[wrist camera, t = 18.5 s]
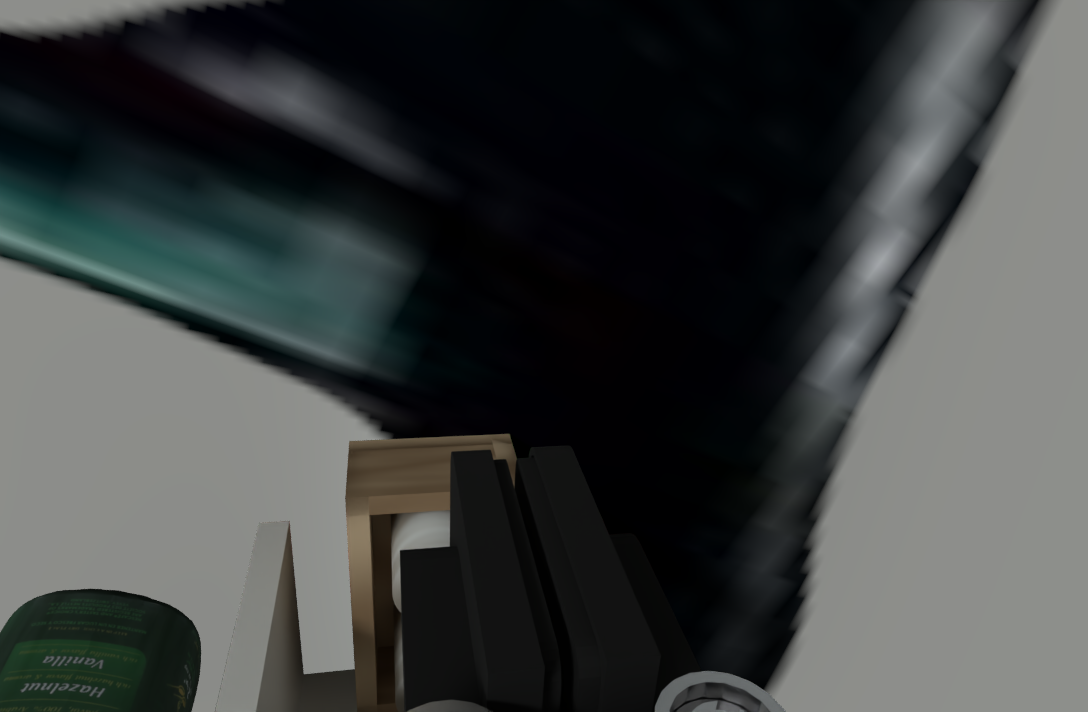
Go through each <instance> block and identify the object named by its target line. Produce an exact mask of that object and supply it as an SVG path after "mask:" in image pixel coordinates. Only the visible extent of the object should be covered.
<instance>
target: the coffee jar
mask: <svg viewBox="0 0 1088 712" xmlns="http://www.w3.org/2000/svg"><path fill="white" fill-rule="evenodd" d="M200 664H201V642H200V637H199V634H198V631H197V630H196V627H195V626H194V624H193V622H192V621H191V620H190V619H189V618H188V617H187V616H185V615H184V614H183V613H182V612H180V611H179V610H177V609H176V608H174V607H172V606H170V605H168V604H166V603H163V602H160V601H157V600H154V599H151V598H148V597H146V596H142V595H137V594H131V593H126V592H122V591H115V590H102V589H81V590H63V591H56V592H52V593H49V594H45V595H42V596H39V597H36V598H34V599H32V600H30V601H28V602H27V603H25V604H24V605H22V606H21V607H20V608H18V610H17V611H16V612H14V613H13V615H12V616H11V617H10V618H9V620H8V622H7V623H6V625H5V626H4V628H3V629H2V631H1V632H0V712H191V711H192V707H193V703H194V699H195V695H196V691H197V686H198V681H199V675H200Z"/></svg>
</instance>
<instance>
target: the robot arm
mask: <svg viewBox="0 0 1088 712" xmlns="http://www.w3.org/2000/svg"><path fill="white" fill-rule="evenodd" d="M400 584H401V622H402V655H403V685H404V712H786V711H785V710H784V709H783V708H782V707H781V706H780V705H779V704H778V703H777V702H776V701H775V699H774V698H773V697H772V696H771V695H770V694H769V693H767V692H766V691H764V690H762V689H761V688H759V687H758V686H756V685H755V684H753V683H752V682H750V681H747V680H745V679H742V678H739V677H737V676H734V675H732V674H727V673H720V672H713V671H704V672H702V671H701V669H700V667H699V665H698V663H697V661H696V659H695V657H694V655H693V653H692V651H691V648H690V646H689V644H688V642H687V640H686V638H685V636H684V634H683V632H682V630H681V628H680V626H679V624H678V621H677V619H676V617H675V615H674V613H673V611H672V609H671V607H670V605H669V603H668V601H667V599H666V596H665V594H664V592H663V590H662V588H661V586H660V584H659V582H658V580H657V578H656V576H655V574H654V571H653V569H652V567H651V565H650V563H649V561H648V559H647V557H646V555H645V553H644V551H643V549H642V546H641V544H640V542H639V541H638V539H637V538H636V536H635V535H633V534H631V533H626V534H612V535H609V534H608V531H607V529H606V527H605V524H604V522H603V520H602V517H601V515H600V513H599V510H598V508H597V506H596V503H595V501H594V499H593V496H592V494H591V492H590V489H589V487H588V485H587V482H586V480H585V478H584V475H583V473H582V471H581V468H580V466H579V464H578V461H577V459H576V457H575V454H574V452H573V450H572V448H571V446H551V447H532V448H531V449H530V453H529V458H517V460H516V467H515V486H514V485H513V481H512V477H511V474H510V470H509V466H508V463H507V460H506V459H496V460H493V456H492V452H491V450H471V451H452V452H451V460H450V546H449V547H436V548H422V549H409V550H400Z"/></svg>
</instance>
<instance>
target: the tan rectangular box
mask: <svg viewBox="0 0 1088 712" xmlns="http://www.w3.org/2000/svg"><path fill="white" fill-rule="evenodd" d="M215 712H357V698H356V680H355V669H353V670H344V671H333V672H324V673H314V674H303V663H302V653H301V641H300V630H299V620H298V609H297V598H296V588H295V577H294V566H293V555H292V544H291V533H290V523H289V521H283V522H268V523H259V525H258V529H257V533H256V538H255V542H254V546H253V551H252V555H251V559H250V563H249V568H248V572H247V576H246V581H245V585H244V589H243V593H242V598H241V602H240V606H239V611H238V615H237V619H236V624H235V628H234V632H233V636H232V641H231V645H230V649H229V654H228V658H227V662H226V667H225V671H224V675H223V679H222V683H221V688H220V692H219V696H218V701H217V705H216V710H215Z"/></svg>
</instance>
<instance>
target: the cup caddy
mask: <svg viewBox="0 0 1088 712" xmlns="http://www.w3.org/2000/svg"><path fill="white" fill-rule="evenodd" d="M471 450H491V452H492V456H493V460H496V459H506V460H507V463H508V466H509V470H510V474H511V477H512V481H513V485H514V486H515V467H516V460H517V458H516V454H515V451H514V448H513V444H512V441H511V438H510V434H498V435H476V436H454V437H432V438H410V439H388V440H366V441H350V442H349V454H348V469H347V483H346V498H345V499H346V517H347V535H348V553H349V571H350V588H351V606H352V625H353V644H354V661H355V680H356V698H357V712H404V685H403V655H402V622H401V584H400V550H409V549H422V548H436V547H449V546H450V460H451V452H452V451H471Z"/></svg>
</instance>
